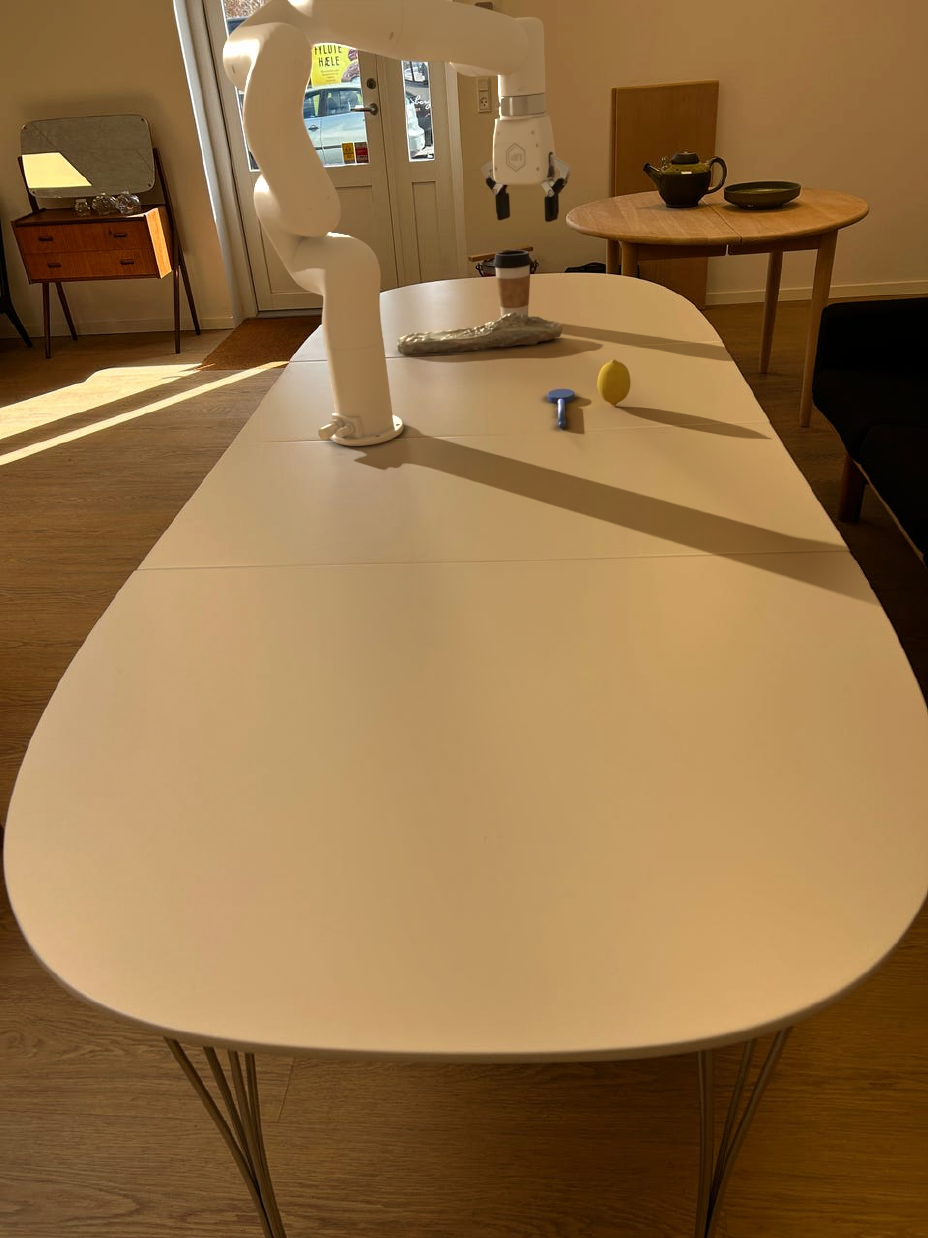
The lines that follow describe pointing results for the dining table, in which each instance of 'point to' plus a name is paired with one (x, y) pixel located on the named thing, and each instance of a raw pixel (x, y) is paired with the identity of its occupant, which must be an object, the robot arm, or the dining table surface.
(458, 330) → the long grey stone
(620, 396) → the lemon
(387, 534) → the dining table surface
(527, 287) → the coffee cup
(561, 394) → the blue paddle
